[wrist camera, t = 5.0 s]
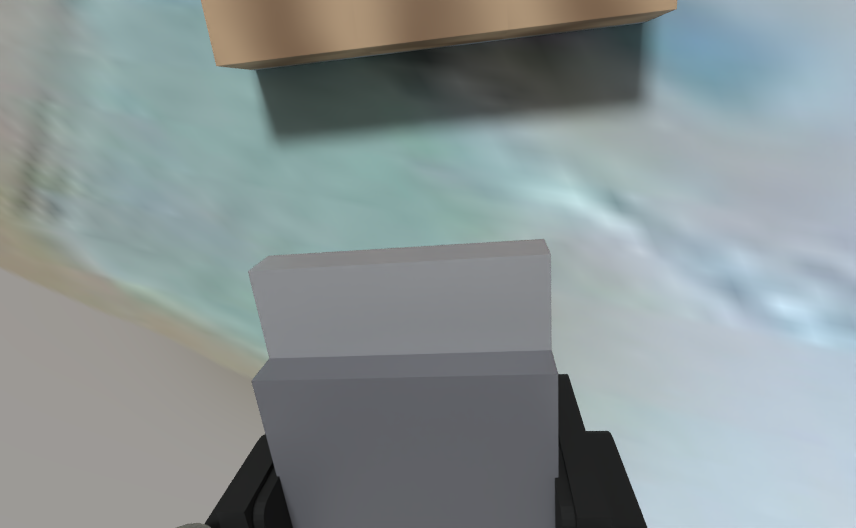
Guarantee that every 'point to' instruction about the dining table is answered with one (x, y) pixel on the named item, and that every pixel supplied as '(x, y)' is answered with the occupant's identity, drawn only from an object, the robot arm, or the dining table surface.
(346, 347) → the flanged block
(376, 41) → the wooden board
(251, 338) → the dining table surface
